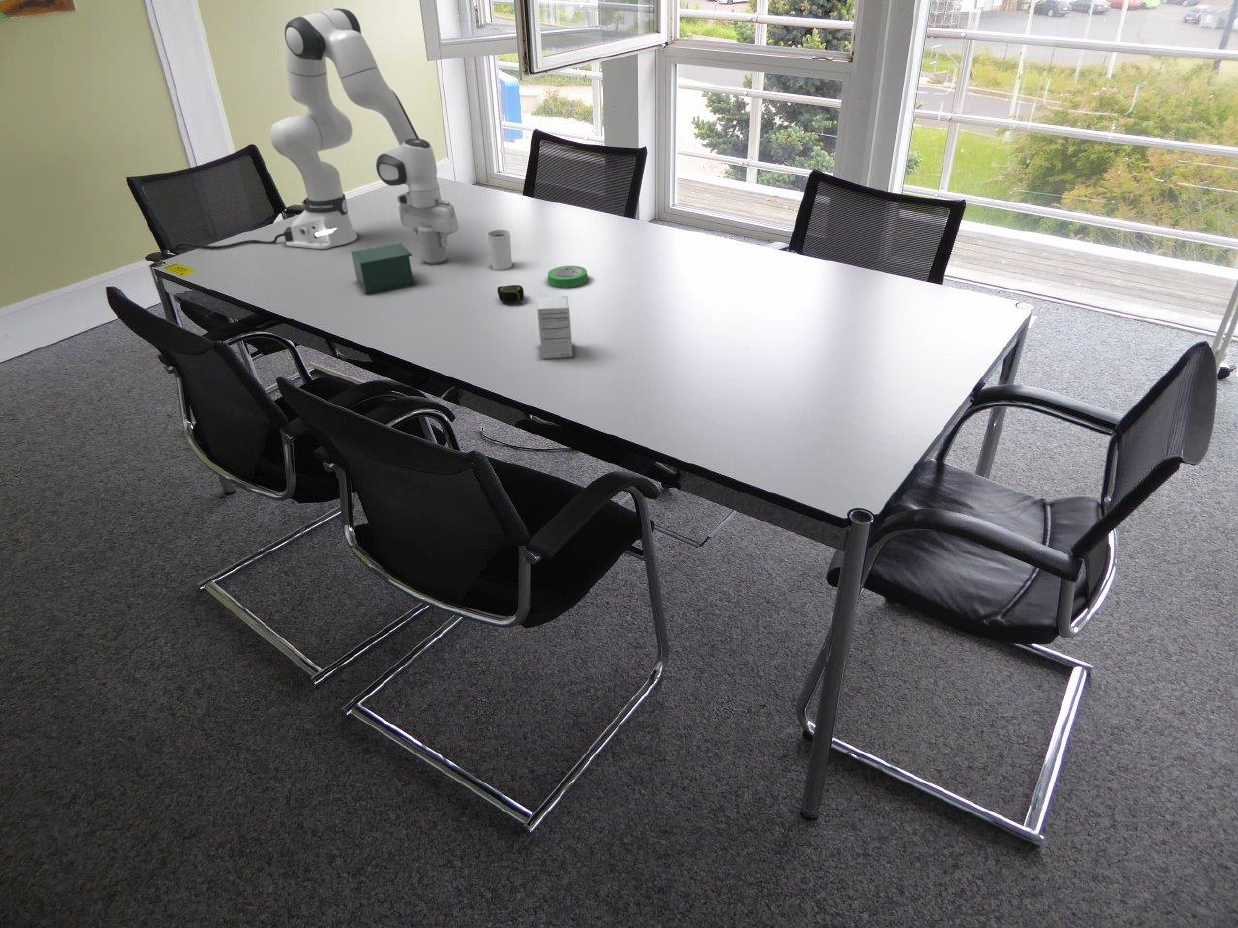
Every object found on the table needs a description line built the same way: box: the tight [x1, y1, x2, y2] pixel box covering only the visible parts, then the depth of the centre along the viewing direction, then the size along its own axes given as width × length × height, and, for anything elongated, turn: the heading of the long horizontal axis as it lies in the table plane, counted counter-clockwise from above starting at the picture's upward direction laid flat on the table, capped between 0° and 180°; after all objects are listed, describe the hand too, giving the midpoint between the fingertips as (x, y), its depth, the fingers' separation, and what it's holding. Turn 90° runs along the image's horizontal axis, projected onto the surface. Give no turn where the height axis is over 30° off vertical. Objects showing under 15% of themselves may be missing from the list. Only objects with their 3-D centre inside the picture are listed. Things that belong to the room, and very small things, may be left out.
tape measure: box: [497, 284, 525, 304], centre depth 234 cm, size 7×7×4 cm
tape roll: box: [547, 265, 589, 289], centre depth 245 cm, size 11×11×3 cm
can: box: [417, 223, 448, 265], centre depth 261 cm, size 8×8×12 cm
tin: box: [351, 254, 415, 295], centre depth 247 cm, size 14×11×8 cm
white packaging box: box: [536, 295, 573, 360], centre depth 203 cm, size 7×7×13 cm
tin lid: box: [350, 242, 413, 266], centre depth 245 cm, size 14×11×1 cm
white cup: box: [486, 229, 513, 271], centre depth 255 cm, size 7×7×10 cm
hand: (432, 244), depth 261 cm, fingers closed on can, 7 cm apart
